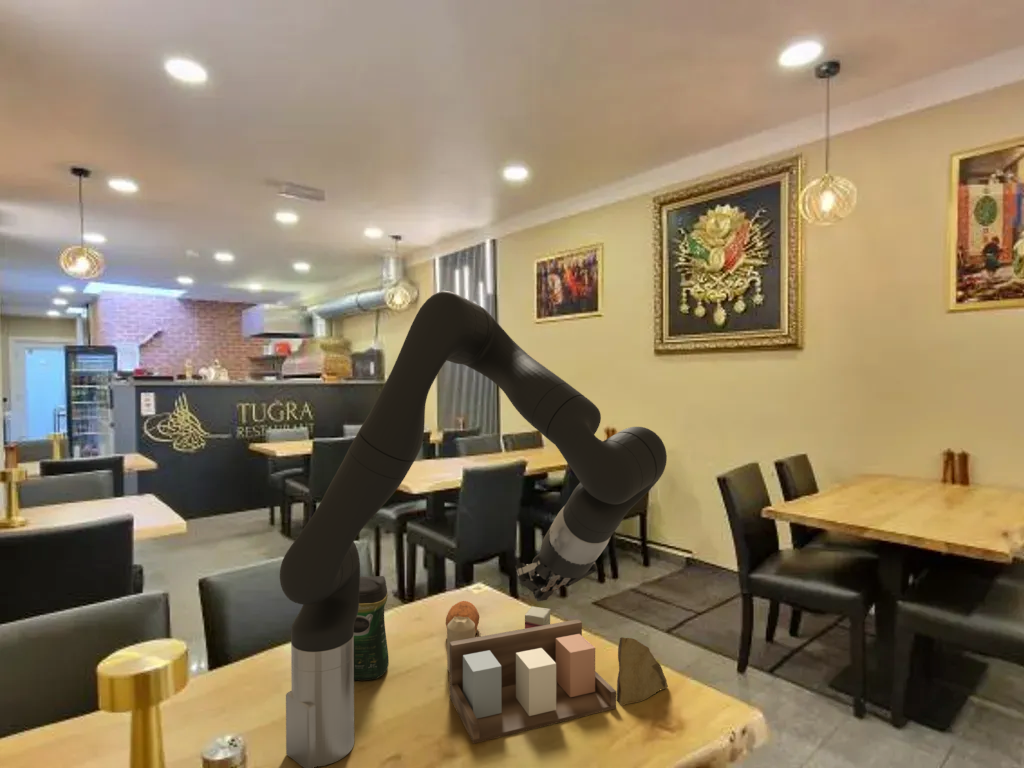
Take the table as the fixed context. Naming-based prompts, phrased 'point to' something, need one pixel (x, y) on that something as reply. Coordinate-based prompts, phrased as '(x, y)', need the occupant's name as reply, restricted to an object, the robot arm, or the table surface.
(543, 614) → the small box
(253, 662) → the table surface
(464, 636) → the candle
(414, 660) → the table surface
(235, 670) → the table surface
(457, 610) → the potato
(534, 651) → the cream rectangular block
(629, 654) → the rock
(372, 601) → the coffee jar
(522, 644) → the tray
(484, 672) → the grey blue block
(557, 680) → the key terracotta
